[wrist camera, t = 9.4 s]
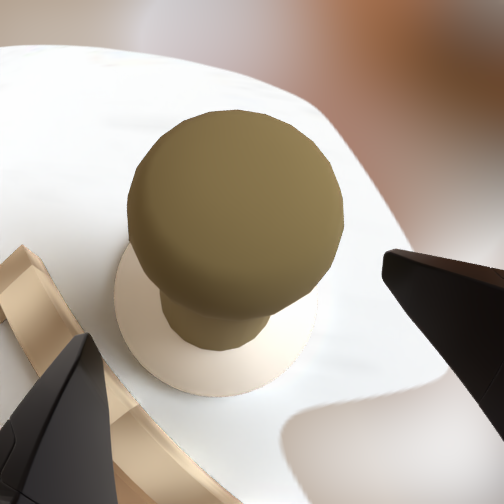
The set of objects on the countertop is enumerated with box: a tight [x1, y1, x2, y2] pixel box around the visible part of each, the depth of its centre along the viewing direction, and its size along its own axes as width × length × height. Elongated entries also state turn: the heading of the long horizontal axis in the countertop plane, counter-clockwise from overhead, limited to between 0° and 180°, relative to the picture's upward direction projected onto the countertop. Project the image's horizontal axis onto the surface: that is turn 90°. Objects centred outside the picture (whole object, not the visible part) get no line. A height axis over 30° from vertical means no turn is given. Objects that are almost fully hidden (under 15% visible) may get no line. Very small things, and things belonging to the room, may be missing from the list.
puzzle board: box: [0, 245, 243, 504], centre depth 10 cm, size 22×15×3 cm
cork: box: [127, 110, 344, 351], centre depth 11 cm, size 6×6×11 cm
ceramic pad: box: [114, 243, 317, 397], centre depth 17 cm, size 11×11×1 cm
